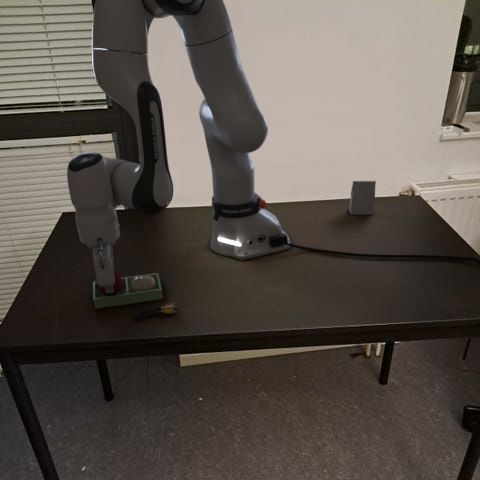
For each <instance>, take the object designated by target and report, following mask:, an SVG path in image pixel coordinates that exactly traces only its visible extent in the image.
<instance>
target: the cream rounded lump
mask: <svg viewBox="0 0 480 480" xmlns="http://www.w3.org/2000/svg"><path fill="white" fill-rule="evenodd" d="M138 276H139V275H138ZM155 287H156V282H155V280H154V278H152V277H151V276H139V277H136V278H134V279H133V280H132V281H131V289H132V291H133V292H142V291H149V290H154V289H155Z"/></svg>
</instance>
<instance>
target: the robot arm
mask: <svg viewBox="0 0 480 480" xmlns="http://www.w3.org/2000/svg"><path fill="white" fill-rule="evenodd" d="M167 17H172V18H173V19H174V20H175V21H176V23H177V24H178V27H179V29H180V33H181V37H182V40H183V44H184V48H185V50H186V53H187V57H188V61H189V64H190V67H191V70H192V73H193V77H194V80H195V81H196V82H195V83H196V84H197V86H198V88H199V90H201V93H202V95H203V97H204V99H203V100H202V102H201V104H200V106H199V110H198V116H199V120H200V122H201V123H200V124H201V126H202V129H203V134H204V139H205V143H206V149H207V153H208V158H209V162H210V168H211V179H212V180H211V181H212V197H211V215H212V218H213V224H212V225H213V227H212V235H211V240H210V243H209V247H210V249H211V250H212V251H213V252H215V253H216V254H219V255H222V256H225V257H226V256H227V257H232V258H234V259H237V260H240V261H245V260H248V259H249V260H250V259H252V258H257V257H261V256H265V255H270V254H273V253H277V252H282V251H285V250H288V249H289V248H290V247H292V248H294V249H298V250H299V249H300V250H305V251H311V252H318V253H325V254H332V255H341V256H351V257H364V258H397V259H398V258H399V259H400V258H401V259H402V258H403V259H404V258H406V259H407V258H412V259H413V258H414V259H415V258H417V259H418V258H419V259H420V258H423V259H446V260H447V259H449V260H459V261H474V262H477V263H478V264H480V259H479V258H477V257H472V256H454V255H442V254H441V255H440V254H439V255H438V254H437V255H436V254H378V253H377V254H376V253H375V254H374V253H373V254H371V253H359V252H358V253H357V252H346V251H339V250H338V251H337V250H328V249H321V248H313V247H308V246H301V245H297V244H293V243H291V238H290V237H289V234H288V233H287V232H286V231H284V230H283V227H282V225H281V222H280V220H279V219H278V218H277V216H276V215H275V214H273V213H272V212H270V211H269V210H267V209H266V208H267V207H268V203H267V202H266V200H265V199H263V198H262V197H261V196H260V195H259V194H258V193H257V192H255V191H256V190H255V188H256V187H255V183H256V181H255V180H256V179H255V177H256V176H255V175H256V174H255V165H254V163H253V160H252V157H251V154H250V153H253V152H255V151H257V150H259V149H260V148H261V147H262V146H263V145H264V143H265V142H266V139H267V137H268V133H269V132H268V131H269V125H268V122H267V120H266V118H265V116H264V114H263V113H262V111H261V109H260V107H259V105H258V103H257V101H256V97H255V95H254V92H253V90H252V88H251V86H250V85H251V84H250V83H249V81H248V78H247V76H246V73H245V71H244V68H243V65H242V62H241V58H240V54H239V51H238V47H237V43H236V38H235V35H234V31H233V27H232V22H231V20H230V16H229V12H228V10H227V8H226V4H225V1H224V0H95V1H94V7H93V16H92V26H91V27H92V28H91V59H92V61H91V62H92V70H93V75H94V78H95V82H96V83H97V85H98V86H99V88H100V89H101V90H102V91H103V93H104V94H105V95H106V96H107V97H109V98H110V99H111V100H113V101H114V102H116V103H117V104H118V105H120V106H121V107H122V108H123V109H125V111H126V112H127V113H128V114H129V116H130V117H131V119H132V120H133V123H134V125H135V129H136V138H137V147H138V155H139V162H140V163H136V162H132V161H129V160H125V159H120V158H110V157H106V156H104V155H103V154H101V153H99V152H84V153H81V154H78V155H76V156H74V157H73V158H72V159H71V160H70V161H68V163H67V168H66V169H67V170H66V178H67V179H66V180H67V186H68V192H69V197H70V201H71V204H72V206H73V208H74V210H75V225H76V228H77V233H78V237H79V241H80V243H82V244H84V245H85V246H87V248H88V249H90V250H92V262H93V269H94V273H95V279H96V281H97V283H98V286H99V287H105V291H106V293H113V292H114V289H113V286H114V285H115V276H114V271H115V263H114V249H113V247H114V246H115V245H116V242H117V240H118V239H120V237H121V231H120V225H119V224H120V223H119V219H118V213H117V211H116V208H117V207H119V206H123V207H125V208H130V209H133V210H136V211H138V212H139V213H143V214H144V215H147V216H156V215H158V214H161V213H162V212H163V211H164V210H166V209H167V207H168V206H169V205H170V204H171V202H172V201H173V197H174V182H173V179H172V175H171V170H170V166H169V160H168V158H169V157H168V150H167V139H166V130H165V119H164V111H163V105H162V99H161V95H160V92H159V90H158V89H157V87H156V86H155V85H154V82H153V79H152V75H151V72H150V64H149V33H150V29H151V28H150V27H151V26H152V25H151V24H152V23H153V21H154V19H164V18H167ZM471 341H472V338H469V337H468V338H467V341H466V345H465V348H464V351H463V356H462V360H463V361H465V360H466V358H467V354H468V350H469V348H470V344H471Z"/></svg>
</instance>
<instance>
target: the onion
mask: <svg viewBox="0 0 480 480" xmlns="http://www.w3.org/2000/svg"><path fill="white" fill-rule="evenodd" d="M114 276H115V285H114V286H113V289H114V292H113V293H106V291H105V287H99V286H98V283H97V287H98V289H99V291H100V292H101V293H102V294H104V295H105V296H113V295H116V294H117V293H118V292H119V291H120V290H121V288H122V279H121V278H122V277H121V275H120V274H119V273H118V272H116V271H115V270H114Z"/></svg>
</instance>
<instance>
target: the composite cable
mask: <svg viewBox="0 0 480 480" xmlns="http://www.w3.org/2000/svg"><path fill="white" fill-rule="evenodd" d="M178 308H179V305H178V302H167V303H164V304H162V305H160V306H158V307H156V308H154V309H148V310H143V311H138V312H137V313H136V314H135V315H134V316H135V319H136V320H142V319H146V318H148V317H150V316H154V315H159V316H160V315H161V316H165V315H173V314H177V313H178V310H175V309H178Z"/></svg>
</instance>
